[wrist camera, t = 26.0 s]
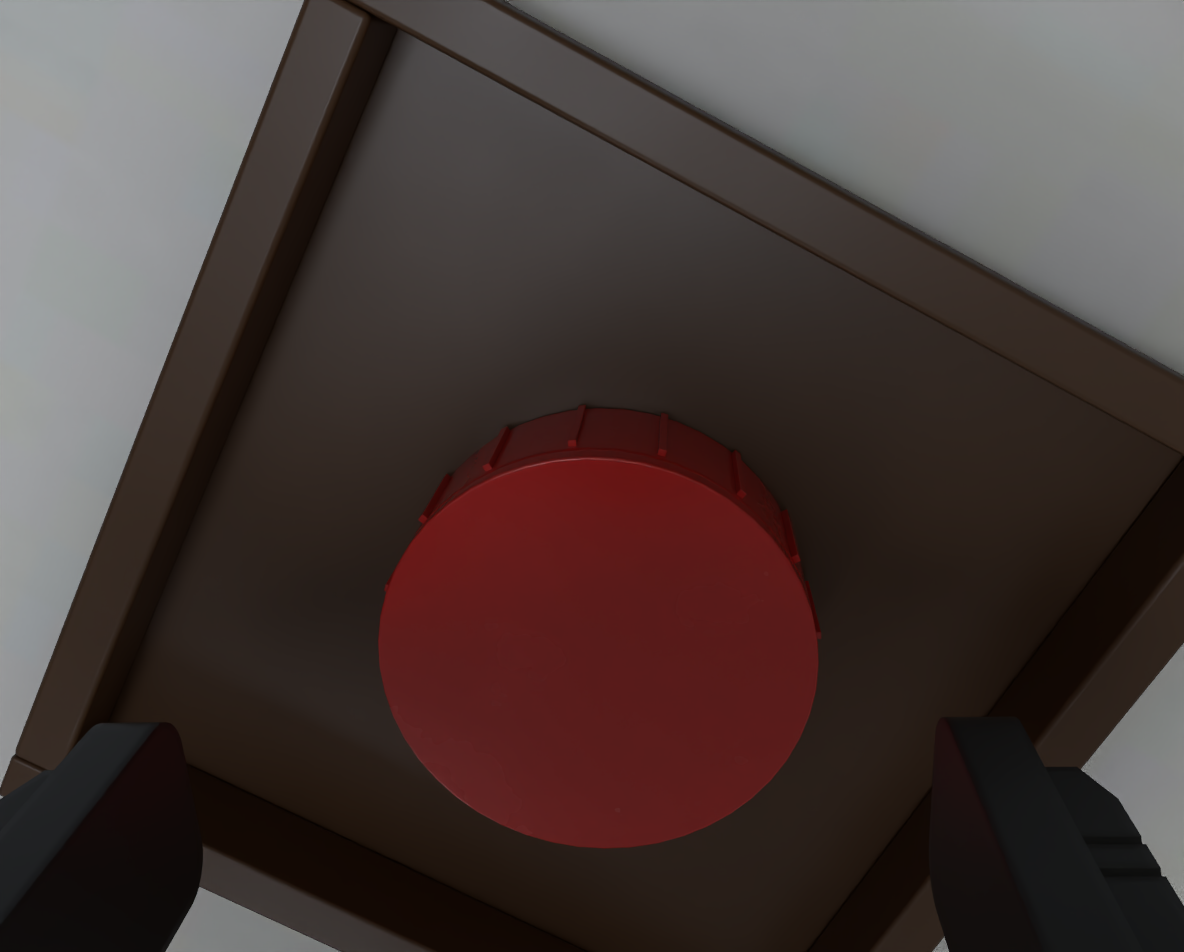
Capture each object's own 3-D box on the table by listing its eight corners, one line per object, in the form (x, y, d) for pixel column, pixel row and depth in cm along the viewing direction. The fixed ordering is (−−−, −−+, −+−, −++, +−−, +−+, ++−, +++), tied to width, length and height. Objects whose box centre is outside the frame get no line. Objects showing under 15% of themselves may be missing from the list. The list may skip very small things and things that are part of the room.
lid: (516, 332, 16) (491, 371, 14) (881, 523, 16) (910, 589, 14) (352, 658, 18) (308, 736, 16) (683, 819, 18) (683, 915, 16)
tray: (764, 1056, 20) (772, 1150, 18) (60, 727, 19) (-5, 795, 17) (1260, 418, 16) (1334, 462, 14) (378, -69, 14) (335, -89, 13)
